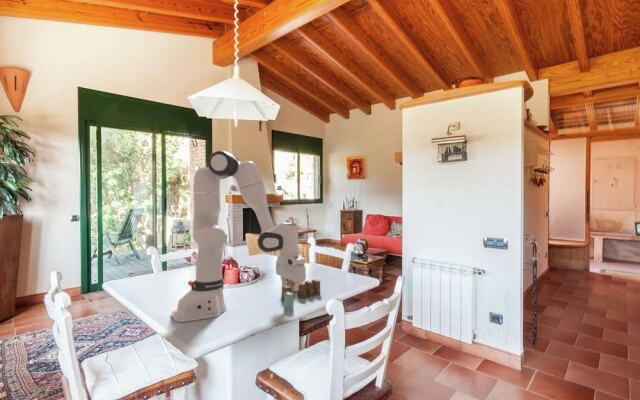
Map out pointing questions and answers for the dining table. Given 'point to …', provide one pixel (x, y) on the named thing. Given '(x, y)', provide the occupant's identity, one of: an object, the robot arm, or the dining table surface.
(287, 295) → the teal domino
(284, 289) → the domino
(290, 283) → the printed cardboard box
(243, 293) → the dining table surface
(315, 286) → the domino
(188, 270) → the dining table surface
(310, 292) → the domino
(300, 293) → the domino
